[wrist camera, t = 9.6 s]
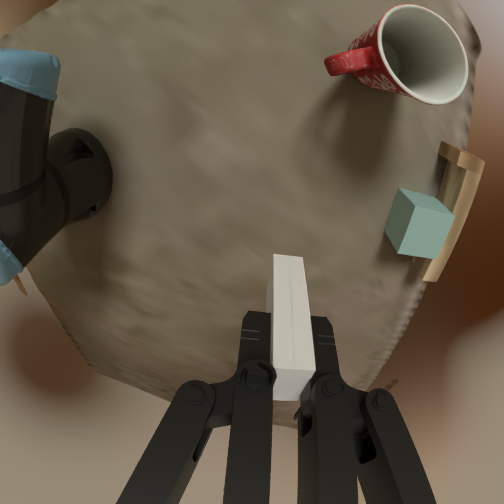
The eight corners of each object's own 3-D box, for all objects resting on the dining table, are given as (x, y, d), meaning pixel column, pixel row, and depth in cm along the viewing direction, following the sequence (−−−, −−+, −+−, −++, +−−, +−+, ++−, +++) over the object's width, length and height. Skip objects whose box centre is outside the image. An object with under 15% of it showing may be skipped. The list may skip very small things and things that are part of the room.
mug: (396, 27, 21) (453, 9, 10) (413, 92, 25) (476, 104, 14) (301, 36, 24) (315, 6, 13) (323, 104, 29) (350, 115, 17)
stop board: (401, 259, 40) (412, 279, 36) (441, 141, 28) (460, 150, 24) (424, 262, 40) (436, 281, 35) (465, 151, 28) (485, 162, 24)
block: (384, 230, 37) (397, 253, 32) (398, 187, 33) (415, 206, 28) (420, 237, 37) (436, 259, 32) (435, 197, 33) (455, 216, 28)
